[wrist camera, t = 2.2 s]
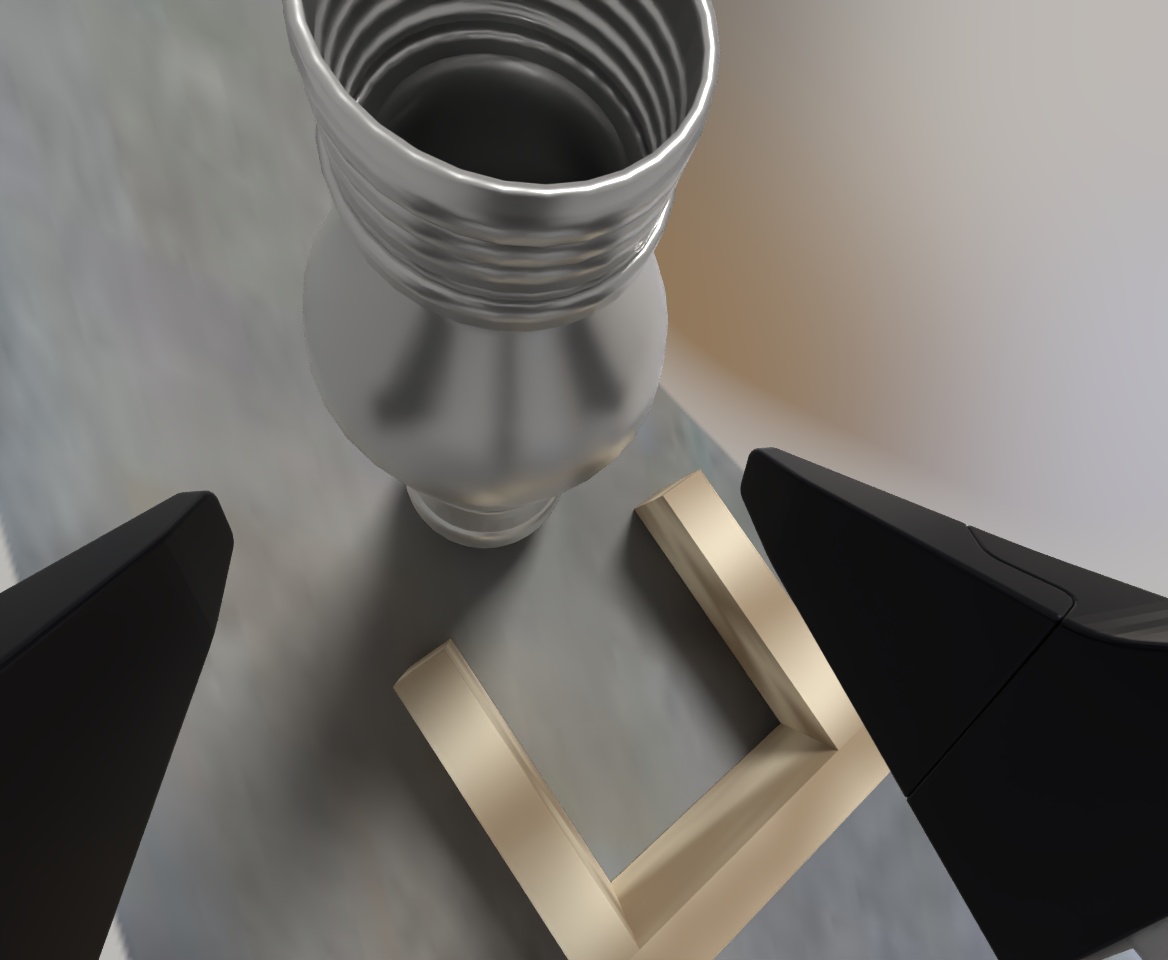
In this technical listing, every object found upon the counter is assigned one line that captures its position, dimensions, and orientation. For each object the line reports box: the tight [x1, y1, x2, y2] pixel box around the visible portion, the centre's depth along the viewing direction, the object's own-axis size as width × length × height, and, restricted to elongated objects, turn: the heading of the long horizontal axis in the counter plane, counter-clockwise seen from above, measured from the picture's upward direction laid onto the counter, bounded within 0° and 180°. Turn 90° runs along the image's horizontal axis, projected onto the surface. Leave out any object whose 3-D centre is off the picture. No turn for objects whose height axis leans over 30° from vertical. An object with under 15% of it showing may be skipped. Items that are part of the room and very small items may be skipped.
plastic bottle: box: [282, 0, 720, 548], centre depth 14 cm, size 6×7×20 cm
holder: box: [393, 470, 890, 960], centre depth 21 cm, size 14×14×4 cm
